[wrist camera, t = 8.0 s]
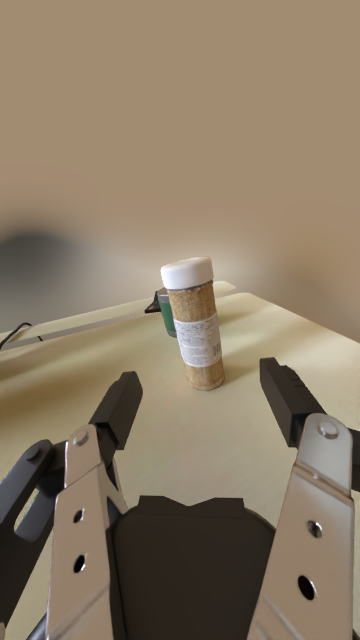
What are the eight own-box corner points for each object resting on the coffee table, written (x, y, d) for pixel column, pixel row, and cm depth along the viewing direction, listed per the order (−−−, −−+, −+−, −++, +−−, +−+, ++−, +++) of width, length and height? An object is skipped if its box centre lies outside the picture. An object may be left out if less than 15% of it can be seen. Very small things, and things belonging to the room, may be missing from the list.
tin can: (158, 330, 34) (148, 293, 31) (189, 314, 39) (182, 280, 36) (186, 343, 28) (176, 297, 25) (218, 322, 32) (213, 281, 29)
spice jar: (202, 360, 23) (184, 258, 18) (233, 373, 20) (221, 252, 15) (179, 381, 20) (149, 268, 15) (209, 400, 17) (185, 264, 12)
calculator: (145, 313, 46) (142, 303, 45) (158, 299, 56) (156, 290, 55) (178, 309, 44) (175, 298, 42) (185, 295, 54) (183, 286, 53)
